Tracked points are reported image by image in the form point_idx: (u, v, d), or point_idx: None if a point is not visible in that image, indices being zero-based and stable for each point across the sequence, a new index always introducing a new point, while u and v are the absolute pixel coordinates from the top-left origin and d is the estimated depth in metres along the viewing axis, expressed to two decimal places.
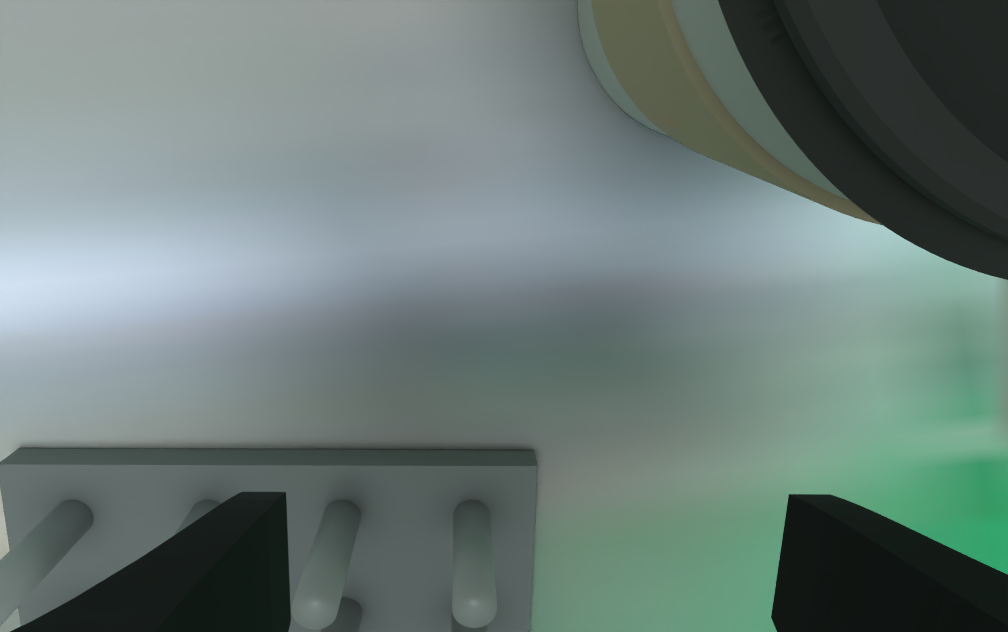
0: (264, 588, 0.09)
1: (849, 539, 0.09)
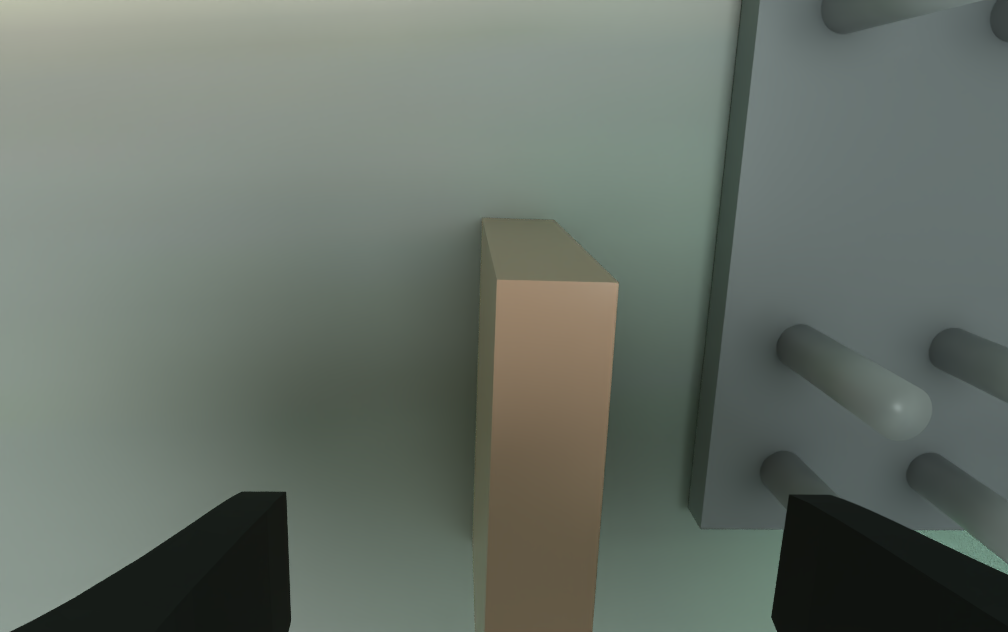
0: (264, 588, 0.09)
1: (849, 539, 0.09)
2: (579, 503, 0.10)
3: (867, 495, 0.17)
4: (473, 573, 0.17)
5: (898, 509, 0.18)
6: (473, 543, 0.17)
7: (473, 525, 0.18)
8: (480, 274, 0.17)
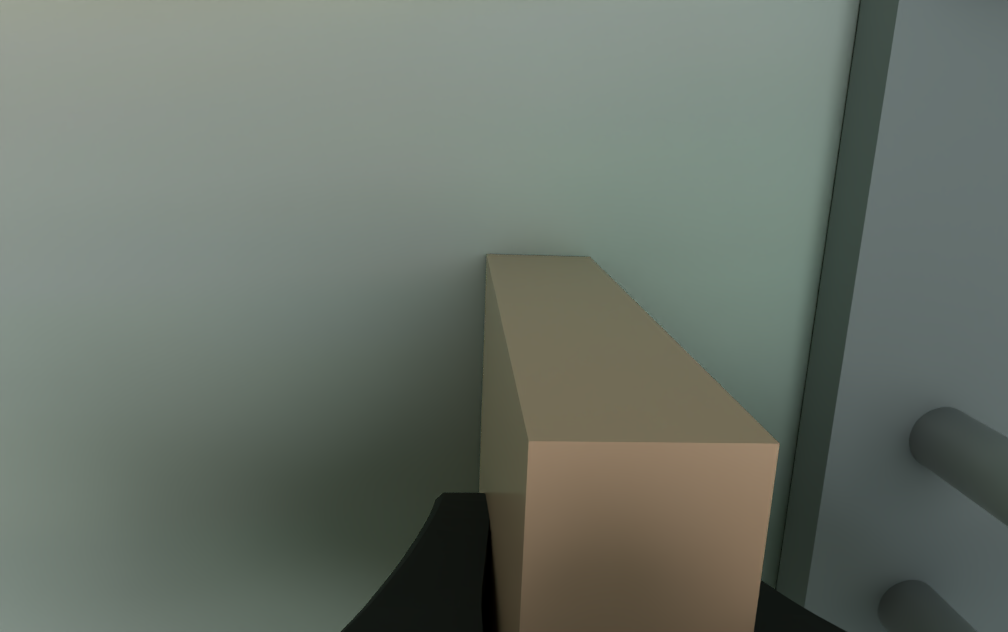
0: None
1: None
2: None
3: None
4: None
5: None
6: None
7: None
8: (484, 335, 0.12)
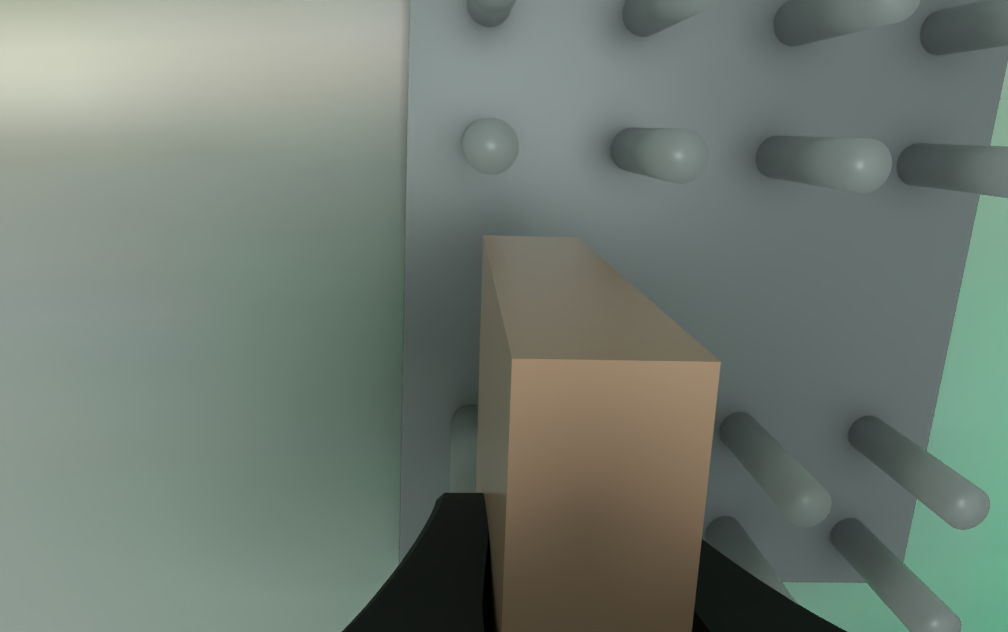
0: None
1: None
2: None
3: None
4: None
5: None
6: None
7: None
8: (481, 310, 0.13)
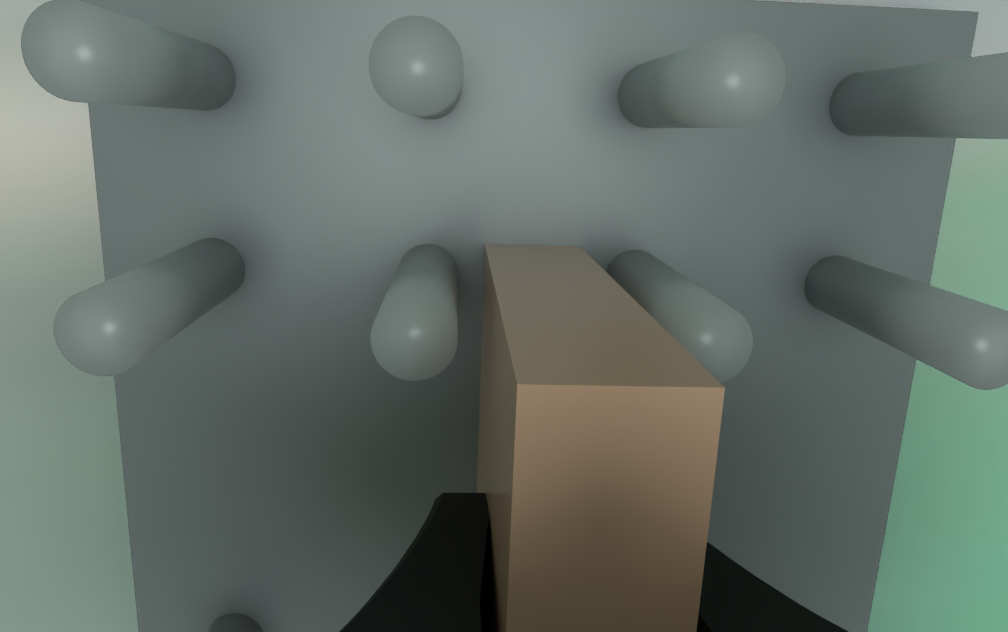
0: (485, 587, 0.09)
1: None
2: None
3: None
4: None
5: None
6: None
7: None
8: (482, 318, 0.13)
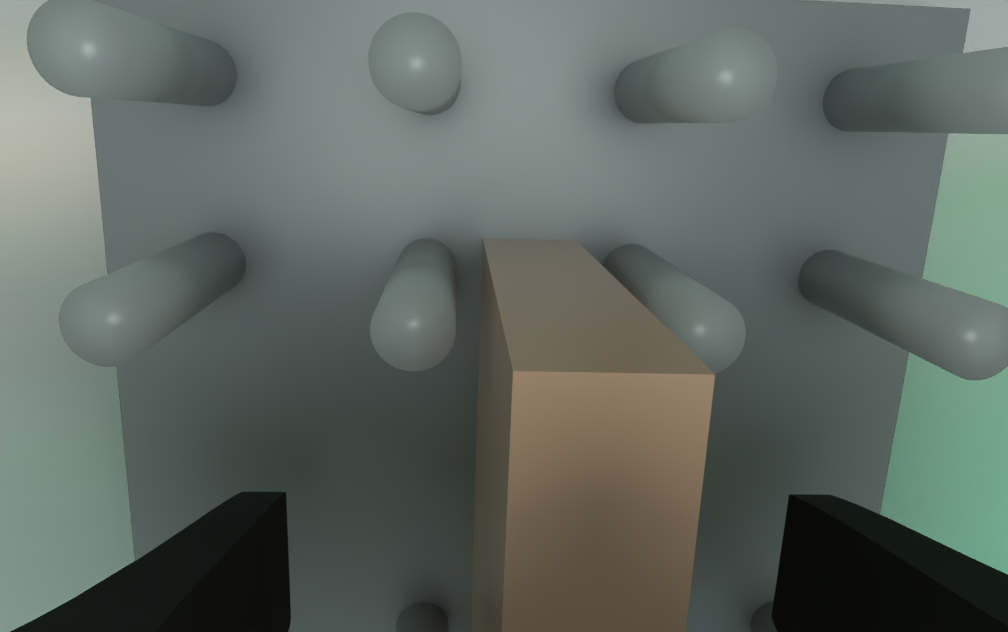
0: (264, 588, 0.09)
1: (848, 540, 0.09)
2: None
3: None
4: None
5: None
6: None
7: (471, 630, 0.14)
8: (480, 312, 0.13)
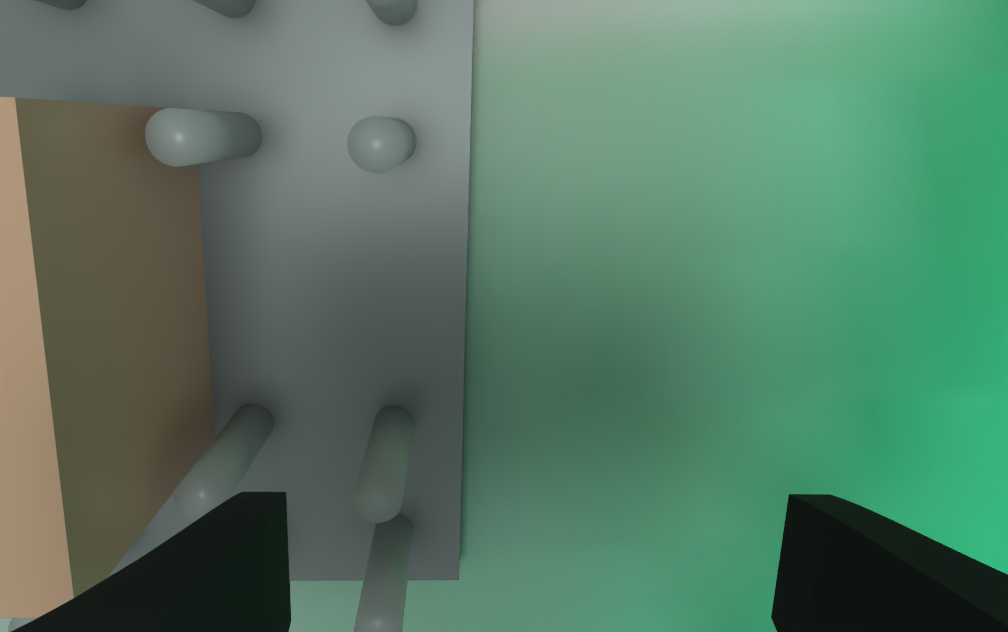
0: (264, 588, 0.09)
1: (849, 539, 0.09)
2: (18, 326, 0.11)
3: None
4: None
5: None
6: None
7: None
8: None
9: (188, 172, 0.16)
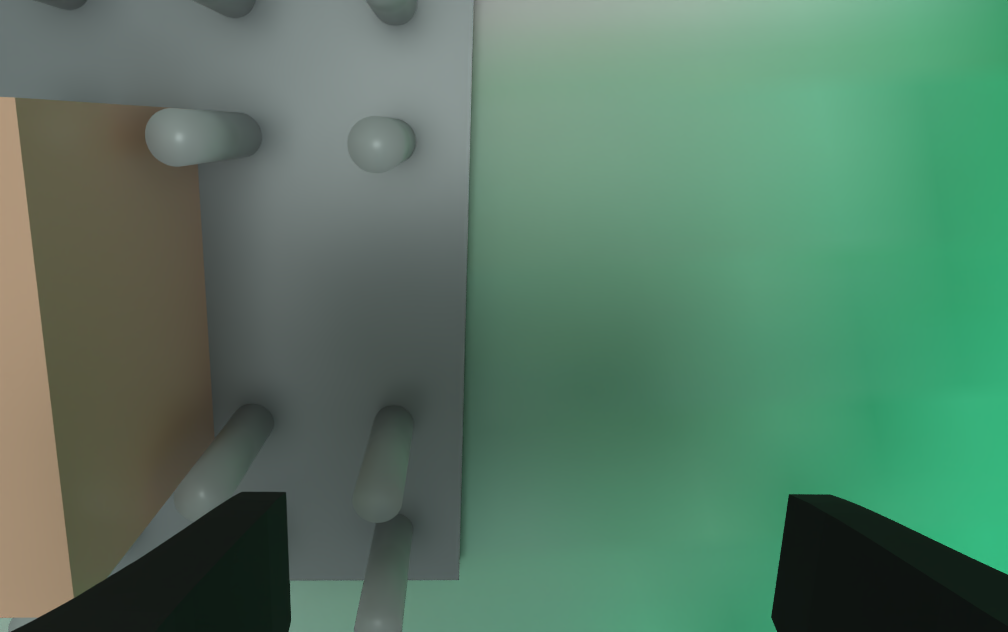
0: (264, 588, 0.09)
1: (849, 539, 0.09)
2: (18, 326, 0.11)
3: None
4: None
5: None
6: None
7: None
8: None
9: (188, 172, 0.16)
